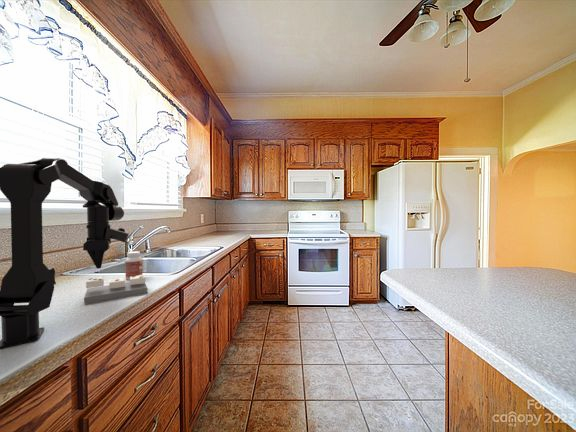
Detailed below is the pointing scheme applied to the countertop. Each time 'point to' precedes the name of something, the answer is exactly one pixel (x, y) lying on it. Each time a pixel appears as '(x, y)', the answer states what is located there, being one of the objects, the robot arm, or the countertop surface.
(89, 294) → the button panel
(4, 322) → the robot arm
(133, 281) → the two-dot button
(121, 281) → the one-dot button
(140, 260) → the pill bottle
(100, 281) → the three-dot button
